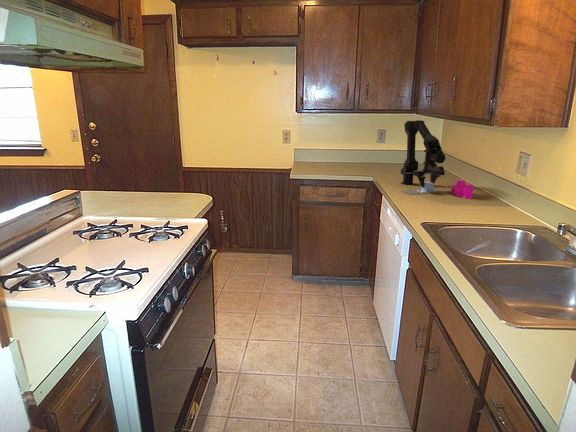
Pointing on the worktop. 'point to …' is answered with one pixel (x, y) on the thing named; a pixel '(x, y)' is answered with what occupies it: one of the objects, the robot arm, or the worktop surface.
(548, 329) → the worktop surface
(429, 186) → the slate blue cube
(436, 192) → the letter mat
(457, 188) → the toy block
